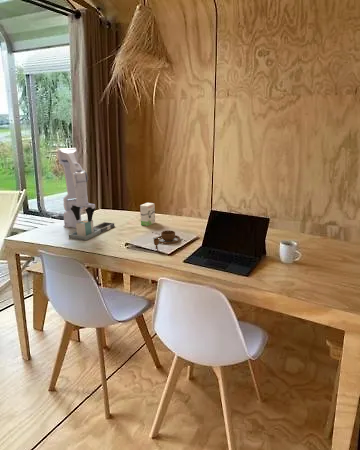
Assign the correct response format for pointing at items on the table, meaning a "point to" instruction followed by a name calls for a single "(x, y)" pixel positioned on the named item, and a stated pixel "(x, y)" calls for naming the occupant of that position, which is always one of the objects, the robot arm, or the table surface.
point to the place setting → (166, 238)
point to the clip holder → (108, 225)
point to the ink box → (147, 214)
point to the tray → (75, 236)
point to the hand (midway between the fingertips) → (84, 220)
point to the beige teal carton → (84, 228)
